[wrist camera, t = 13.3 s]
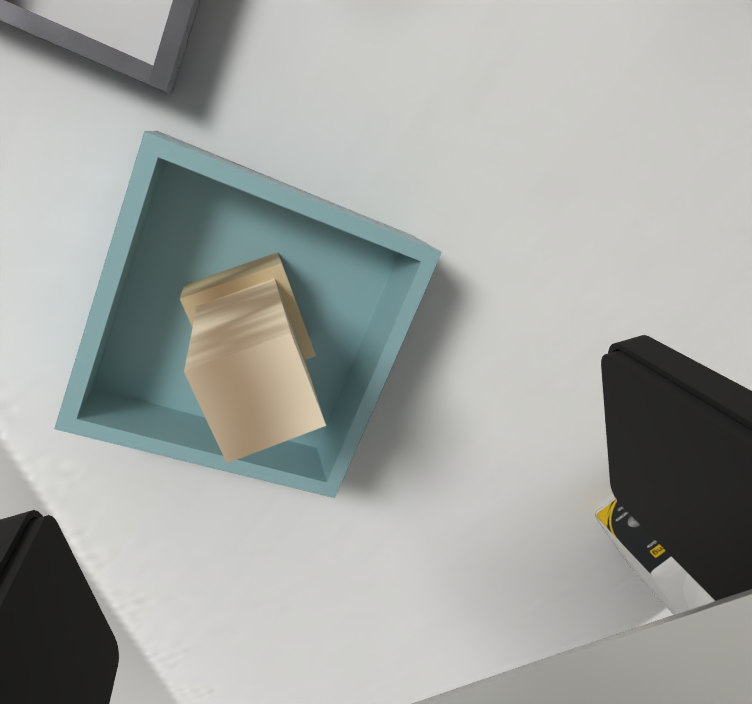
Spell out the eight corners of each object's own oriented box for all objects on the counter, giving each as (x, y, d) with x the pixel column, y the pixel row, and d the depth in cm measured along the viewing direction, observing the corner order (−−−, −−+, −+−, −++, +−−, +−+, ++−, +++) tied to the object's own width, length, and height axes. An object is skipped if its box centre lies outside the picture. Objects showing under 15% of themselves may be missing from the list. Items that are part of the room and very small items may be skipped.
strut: (277, 252, 33) (301, 312, 22) (309, 338, 35) (345, 433, 24) (183, 284, 33) (160, 363, 22) (221, 370, 35) (217, 481, 24)
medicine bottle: (670, 453, 45) (812, 557, 34) (706, 514, 48) (848, 628, 37) (591, 512, 45) (707, 635, 34) (631, 569, 48) (750, 699, 37)
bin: (414, 236, 36) (441, 252, 31) (322, 454, 39) (334, 498, 34) (157, 131, 31) (144, 131, 26) (77, 389, 34) (54, 429, 30)
